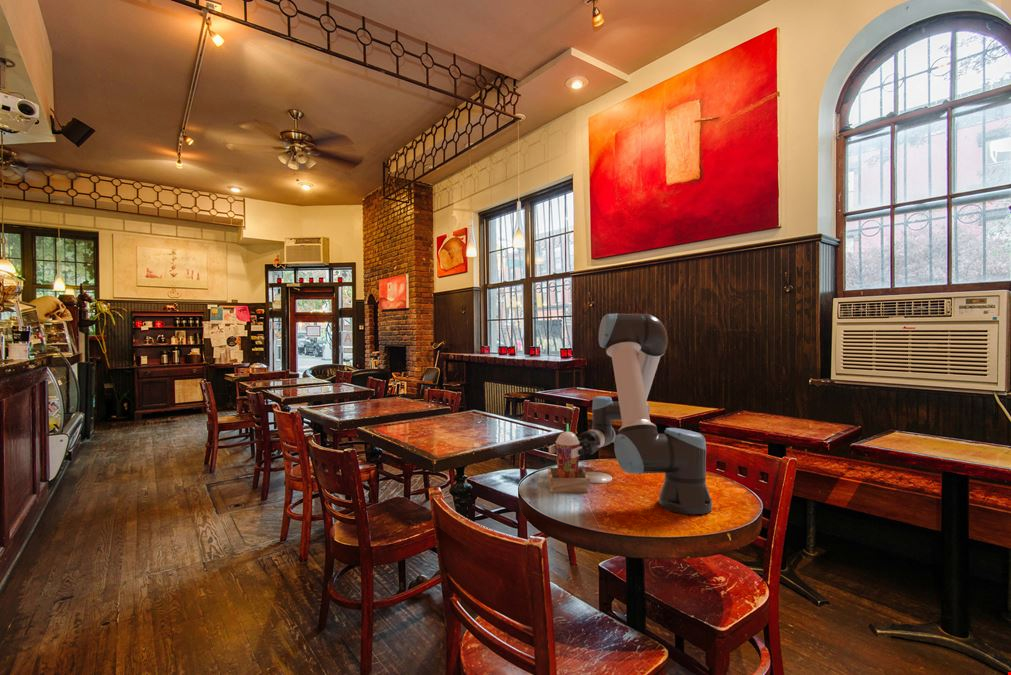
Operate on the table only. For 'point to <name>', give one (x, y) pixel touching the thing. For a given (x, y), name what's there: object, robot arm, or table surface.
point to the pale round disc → (599, 477)
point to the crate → (568, 481)
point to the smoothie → (567, 455)
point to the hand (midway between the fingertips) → (560, 452)
